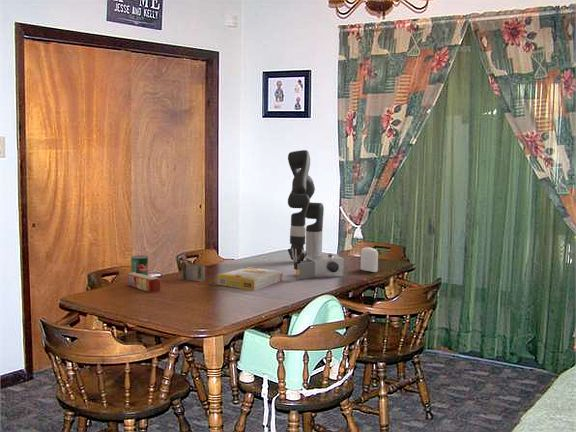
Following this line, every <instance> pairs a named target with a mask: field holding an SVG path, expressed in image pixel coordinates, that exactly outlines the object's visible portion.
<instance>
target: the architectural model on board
mask: <svg viewBox="0 0 576 432" xmlns="http://www.w3.org/2000/svg"><path fill="white" fill-rule="evenodd" d="M182 262H183V263H182V265H181V266H182V268H181V269H182V273H181V274H182V276H181V278H182V280H189V281H197V282H205V281H206V265H201V264H193V263H188V260H183V259H182Z"/></svg>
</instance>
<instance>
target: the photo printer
mask: <svg viewBox="0 0 576 432" xmlns="http://www.w3.org/2000/svg"><path fill="white" fill-rule="evenodd" d="M360 270H362V271H365V272H372V273H377V272H378V271H379V251H378V249H375V248H373V247H370V246H369V247H363V248H361V251H360Z"/></svg>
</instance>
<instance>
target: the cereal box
mask: <svg viewBox="0 0 576 432" xmlns="http://www.w3.org/2000/svg"><path fill="white" fill-rule="evenodd" d="M283 275H284V272H283V271H280V270H273V269H266V268H257V267H256V268H255V267H250V266H248V267H244V268H239V269H236V270H232V271H227V272H223V273H219V274H217V277H216V279H217V280H216V284H217V285H218V286H224V287H230V288H236V289H240V290H247V291H248V290H249V291H256V290H259V289H262V288H265V287H267V286H270V285H273V284H276V283H279V282H283Z"/></svg>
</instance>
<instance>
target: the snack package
mask: <svg viewBox="0 0 576 432" xmlns="http://www.w3.org/2000/svg"><path fill="white" fill-rule="evenodd" d="M125 281H126V282H125V284H126V285H127V286H128V287H133V288H135V289H138V290H141V291H143V292H147V293H152V294H153V293H155V294H156V293H158V292H160V291H161V288H162V283H161V282H162V281H161V279H160V278H159V277H155V276H151V275H148V276H147V275H143V274H139V273H136V272H132V273H131V272H128V273H127V274H126V275H125Z"/></svg>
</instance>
